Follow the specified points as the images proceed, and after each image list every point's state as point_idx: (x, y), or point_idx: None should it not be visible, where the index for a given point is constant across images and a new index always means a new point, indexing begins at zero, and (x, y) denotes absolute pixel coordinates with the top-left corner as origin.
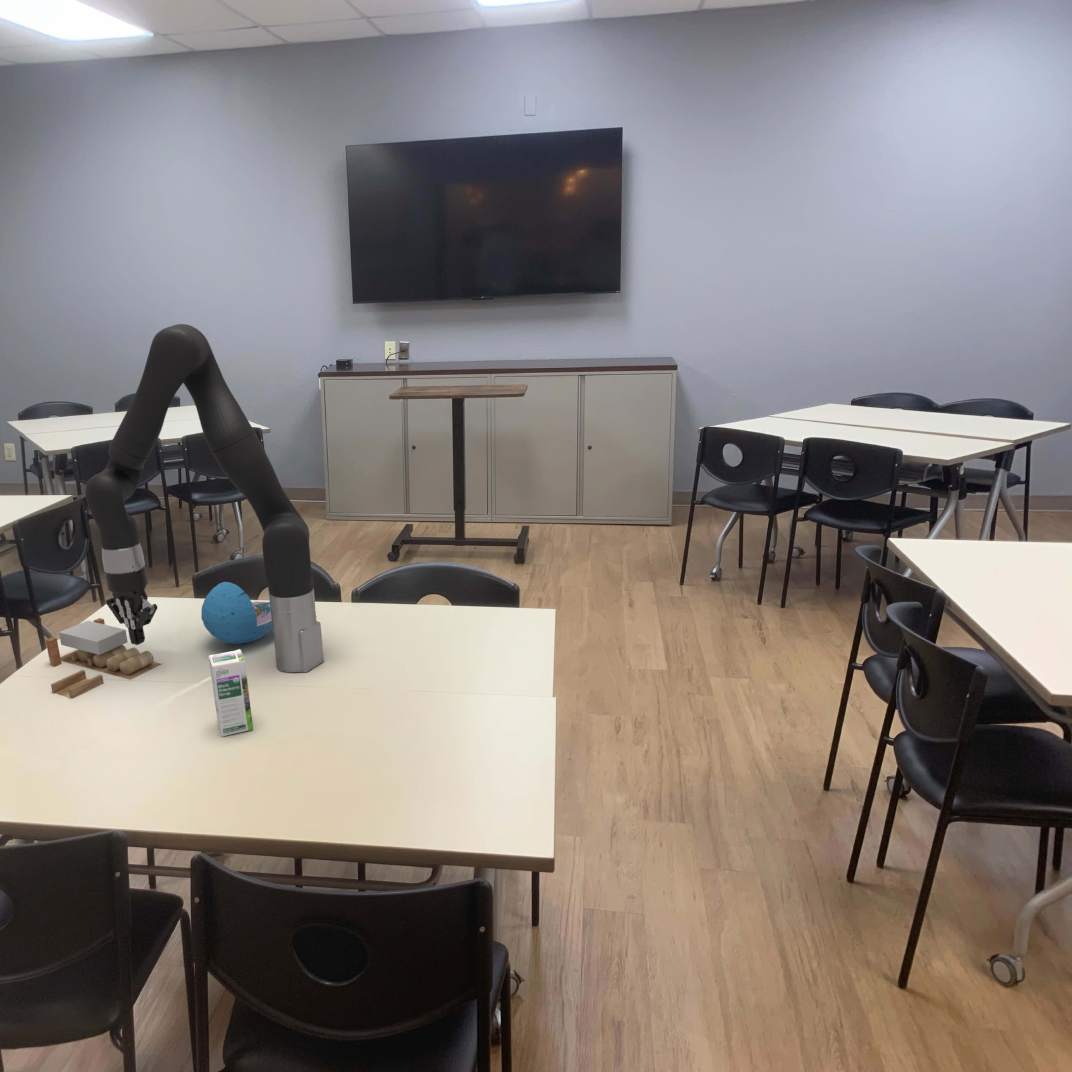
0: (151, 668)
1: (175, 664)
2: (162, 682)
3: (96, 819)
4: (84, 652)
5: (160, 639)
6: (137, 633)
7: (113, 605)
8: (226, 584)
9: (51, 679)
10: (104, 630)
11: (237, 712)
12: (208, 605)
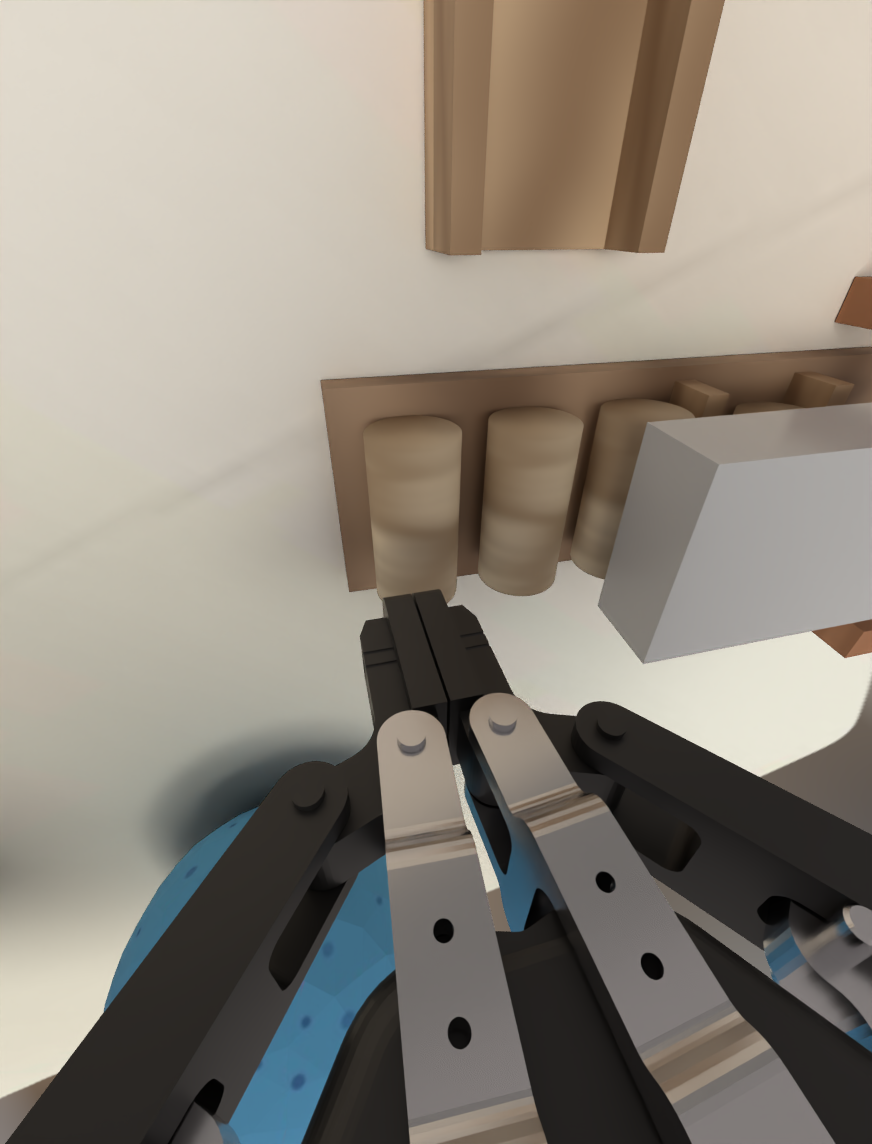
0: (345, 539)
1: (326, 624)
2: (171, 487)
3: None
4: None
5: (575, 687)
6: (377, 689)
7: (839, 913)
8: None
9: (833, 167)
10: (768, 594)
11: None
12: (294, 1019)
